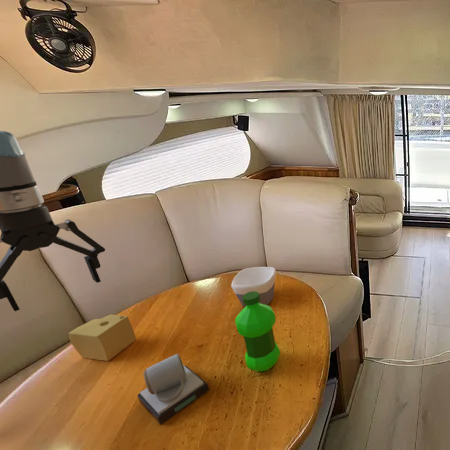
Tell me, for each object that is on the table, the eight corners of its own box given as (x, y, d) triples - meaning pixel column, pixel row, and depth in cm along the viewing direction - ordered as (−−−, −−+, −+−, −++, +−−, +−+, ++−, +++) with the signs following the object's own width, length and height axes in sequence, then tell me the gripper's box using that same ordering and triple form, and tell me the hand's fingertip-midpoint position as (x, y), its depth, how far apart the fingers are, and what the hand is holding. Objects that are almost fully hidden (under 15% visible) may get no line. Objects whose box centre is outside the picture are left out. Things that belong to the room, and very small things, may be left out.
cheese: (111, 336, 107) (101, 312, 103) (139, 339, 105) (130, 315, 102) (78, 359, 97) (66, 333, 93) (108, 363, 96) (97, 337, 92)
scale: (160, 425, 77) (157, 416, 76) (139, 401, 83) (136, 392, 82) (209, 390, 87) (207, 381, 86) (187, 371, 93) (185, 363, 92)
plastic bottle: (239, 367, 94) (222, 297, 85) (271, 347, 102) (258, 281, 93) (257, 384, 89) (241, 311, 80) (289, 361, 96) (278, 293, 87)
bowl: (245, 290, 133) (240, 267, 129) (282, 287, 135) (279, 265, 131) (231, 312, 119) (225, 287, 115) (273, 309, 121) (268, 285, 117)
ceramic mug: (149, 384, 85) (140, 362, 82) (184, 368, 90) (177, 347, 87) (154, 411, 77) (144, 389, 74) (192, 392, 82) (185, 370, 79)
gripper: (-84, 230, 54) (-23, 329, 62) (102, 196, 73) (130, 275, 81) (-87, 222, 58) (-29, 316, 65) (91, 192, 77) (119, 267, 85)
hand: (59, 293), depth 73 cm, fingers open, 13 cm apart
